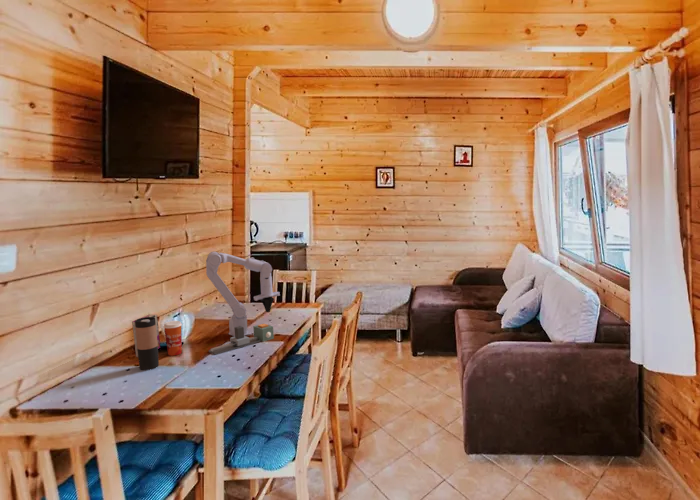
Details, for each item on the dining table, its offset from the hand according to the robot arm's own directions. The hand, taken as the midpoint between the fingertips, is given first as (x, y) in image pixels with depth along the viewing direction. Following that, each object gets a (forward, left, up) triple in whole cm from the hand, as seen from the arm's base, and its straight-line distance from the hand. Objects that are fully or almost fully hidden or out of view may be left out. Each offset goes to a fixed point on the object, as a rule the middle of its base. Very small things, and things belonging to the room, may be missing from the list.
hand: (267, 311), depth 221 cm
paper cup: (-4, -47, -10) cm, 48 cm away
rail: (+9, -25, -10) cm, 28 cm away
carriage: (+9, -22, -9) cm, 25 cm away
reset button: (+9, -9, -7) cm, 14 cm away
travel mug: (+4, -61, -10) cm, 62 cm away
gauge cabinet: (+9, -9, -10) cm, 16 cm away
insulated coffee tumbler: (-14, -55, -10) cm, 58 cm away
